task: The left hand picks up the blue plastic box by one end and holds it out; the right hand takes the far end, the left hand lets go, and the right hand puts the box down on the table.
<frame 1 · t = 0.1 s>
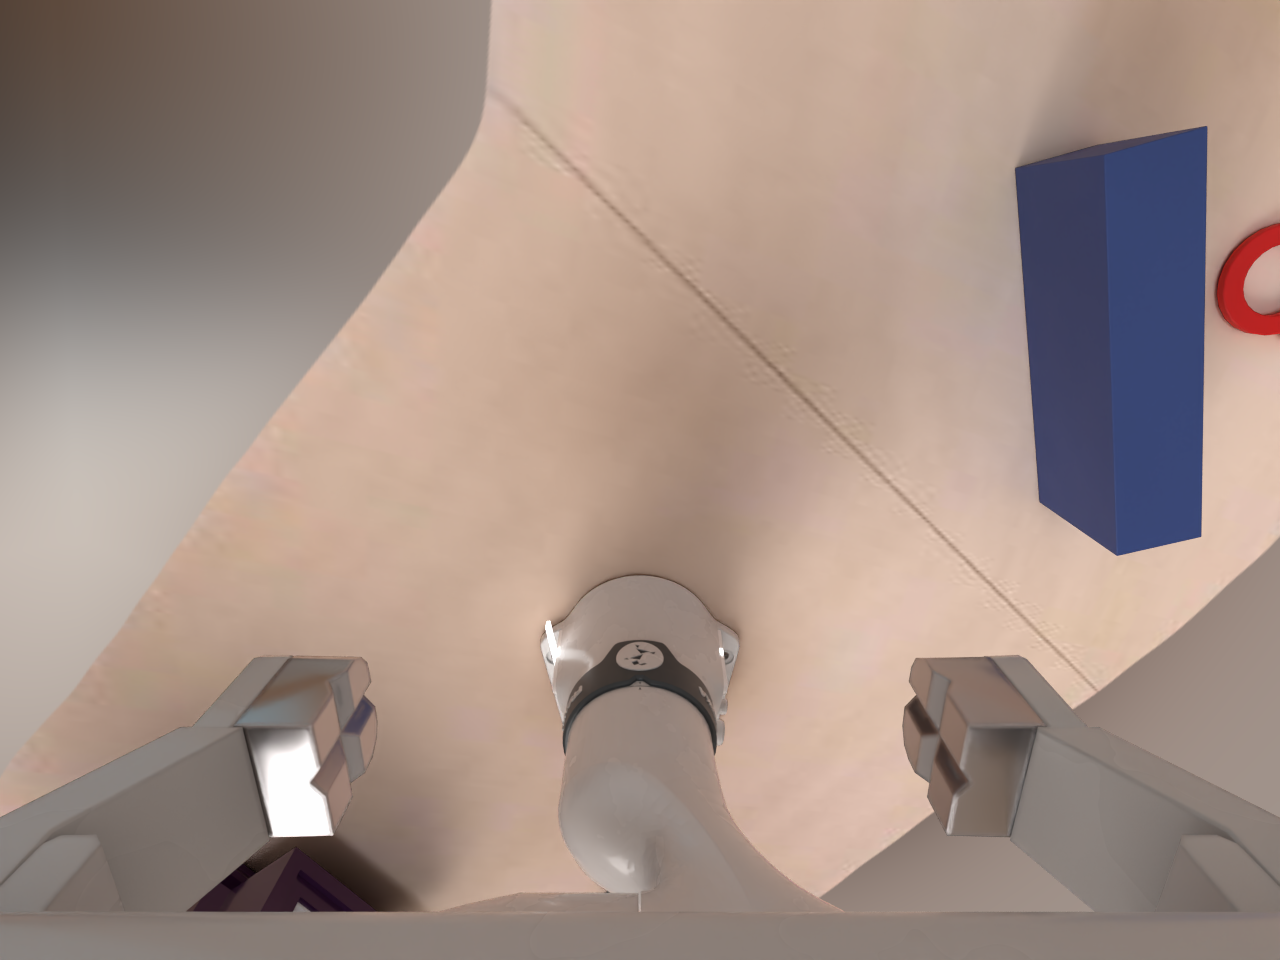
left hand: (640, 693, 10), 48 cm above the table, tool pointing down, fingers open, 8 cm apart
box: (1065, 339, 56), on the table
projector: (273, 932, 80), on the table
tow hook: (1273, 281, 54), on the table
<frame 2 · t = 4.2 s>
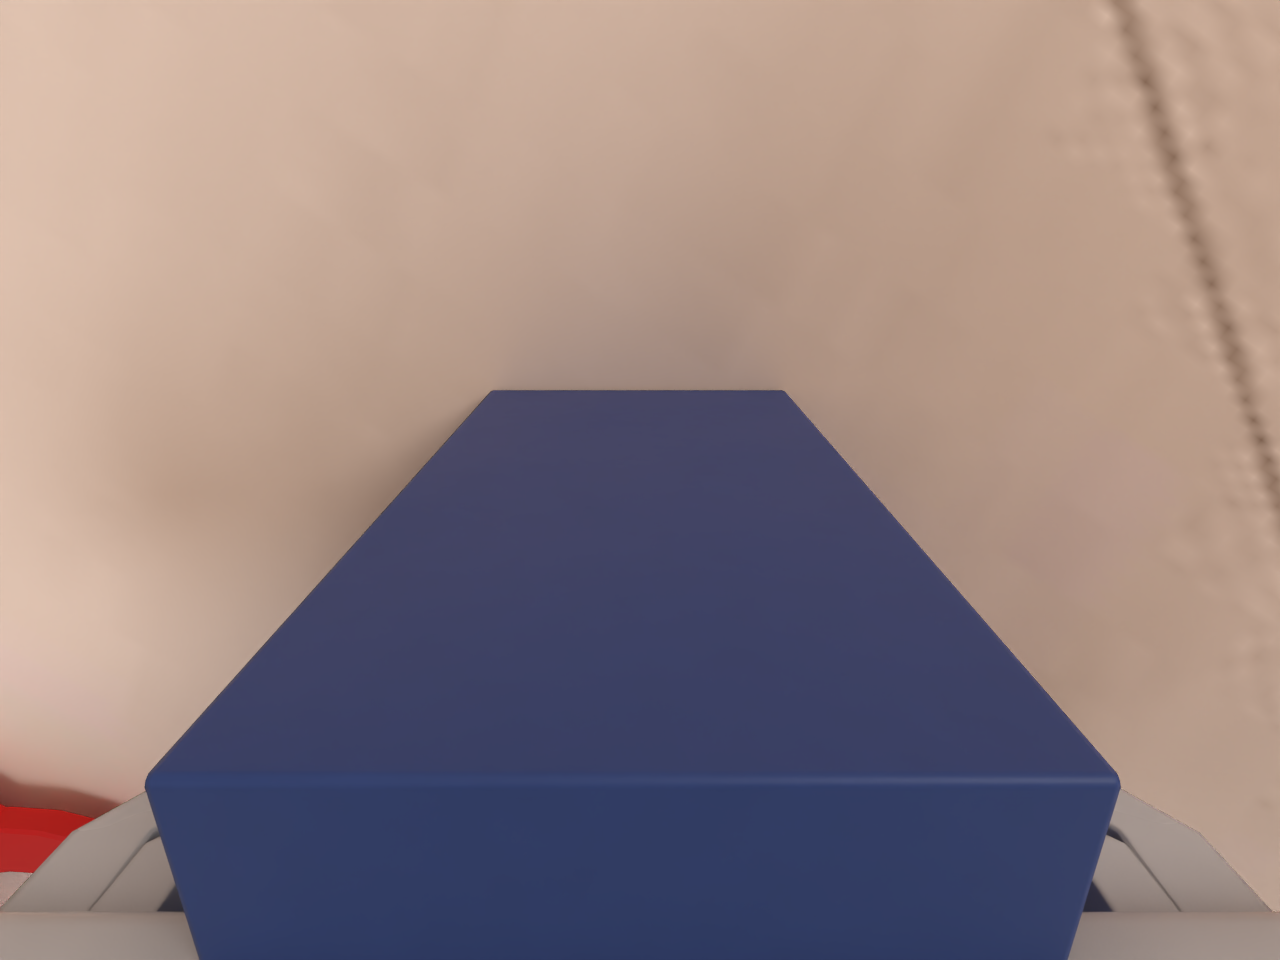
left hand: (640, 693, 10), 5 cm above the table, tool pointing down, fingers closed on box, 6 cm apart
box: (638, 889, 19), on the table, touching left hand
tow hook: (63, 898, 19), on the table
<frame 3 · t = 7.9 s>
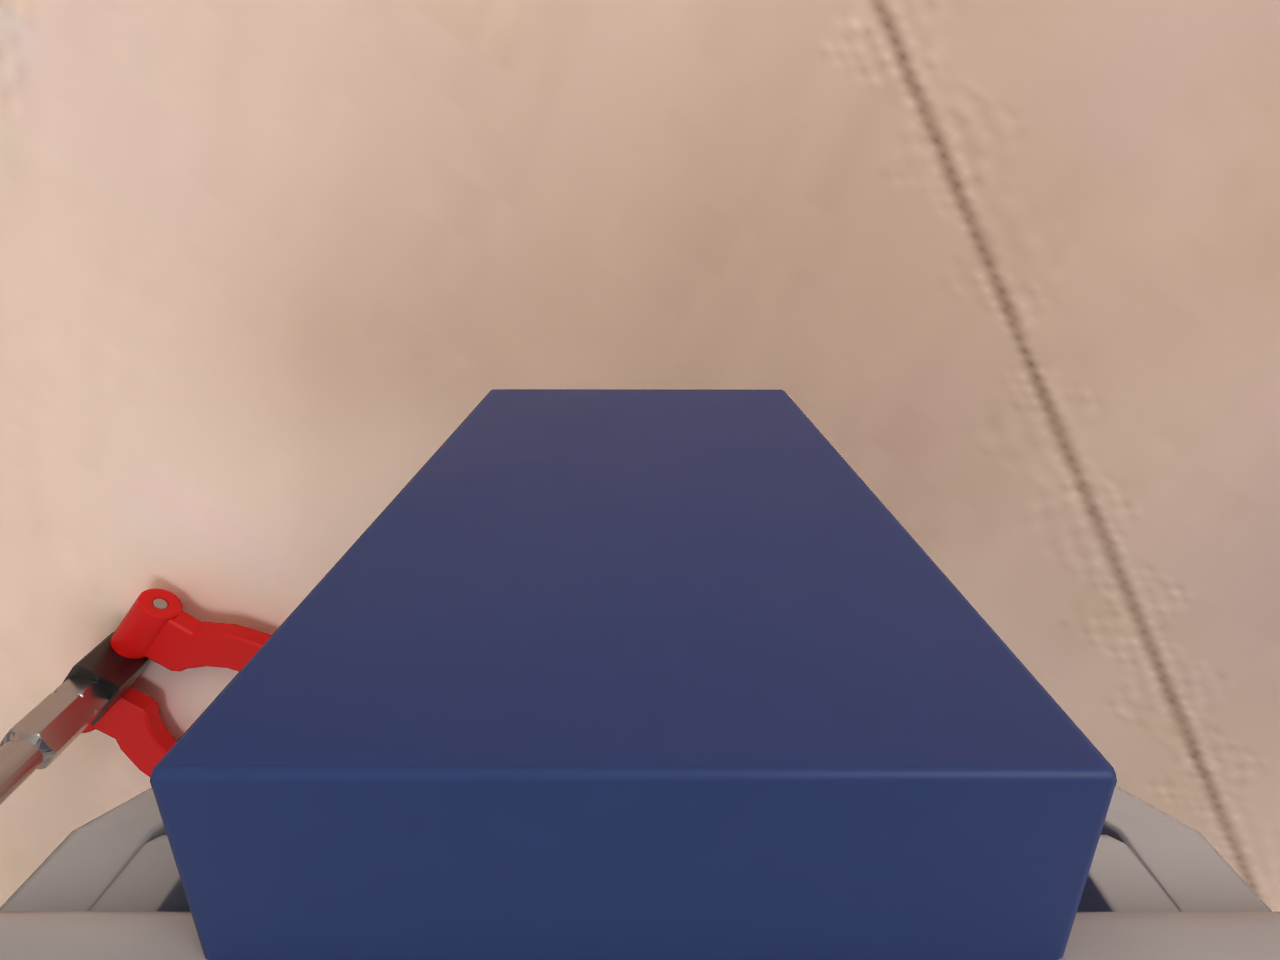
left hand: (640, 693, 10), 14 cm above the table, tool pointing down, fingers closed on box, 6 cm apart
box: (637, 887, 19), point 9 cm above the table, touching left hand, right hand
tow hook: (228, 699, 27), on the table
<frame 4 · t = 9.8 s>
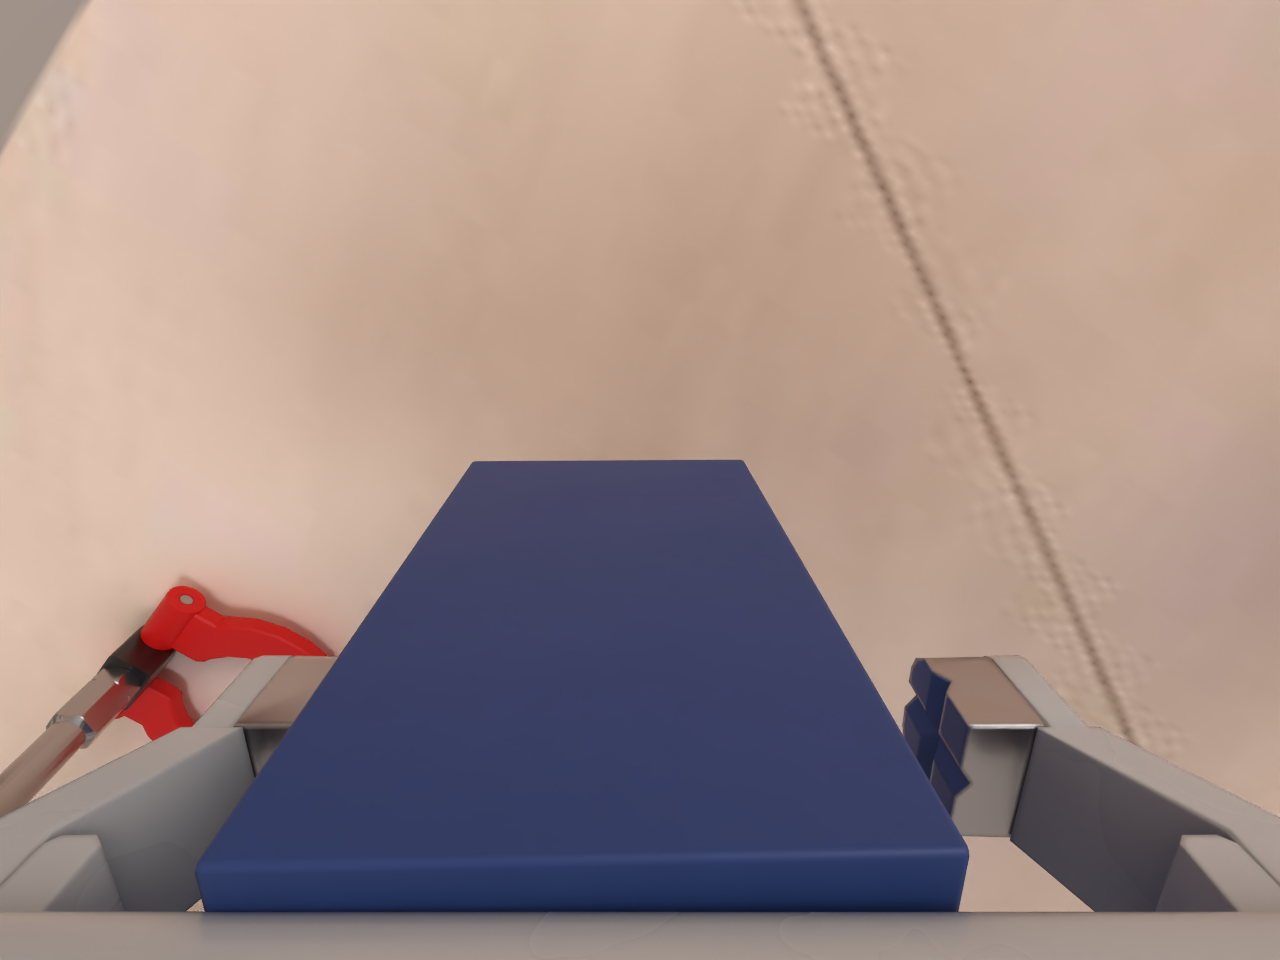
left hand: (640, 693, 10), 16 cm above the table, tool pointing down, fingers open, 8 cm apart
box: (614, 925, 20), point 11 cm above the table, touching right hand
tow hook: (246, 688, 30), on the table
when the right hand's fingers open (6 cm above the table, at t = 14.4 s): box stays where it is, on the table.
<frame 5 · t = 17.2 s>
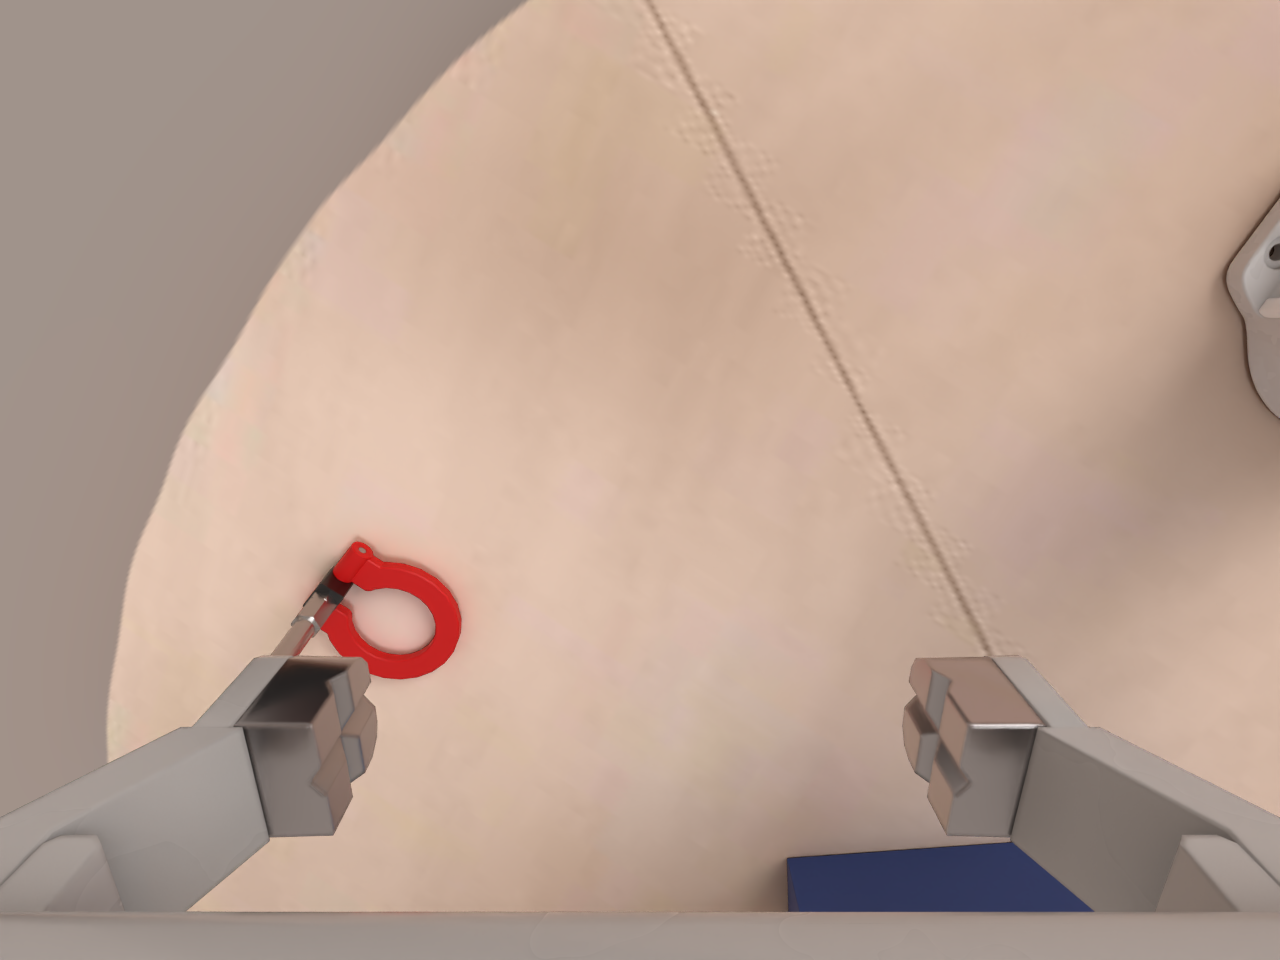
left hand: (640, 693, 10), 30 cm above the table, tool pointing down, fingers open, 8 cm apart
box: (971, 874, 53), on the table
tow hook: (392, 611, 45), on the table
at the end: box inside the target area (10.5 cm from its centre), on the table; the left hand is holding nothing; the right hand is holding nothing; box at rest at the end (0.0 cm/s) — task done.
